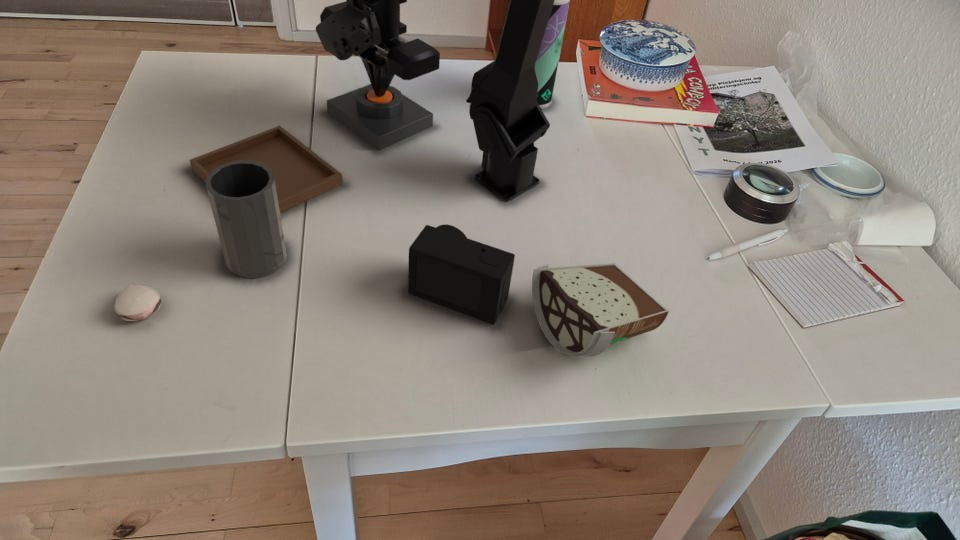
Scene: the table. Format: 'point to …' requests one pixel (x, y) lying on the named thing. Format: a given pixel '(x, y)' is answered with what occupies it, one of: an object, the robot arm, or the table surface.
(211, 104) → the table surface
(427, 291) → the digital camera
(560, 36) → the spray can
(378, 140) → the push button switch
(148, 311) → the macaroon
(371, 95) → the timer button
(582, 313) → the food container
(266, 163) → the tray
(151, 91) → the table surface
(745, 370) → the table surface
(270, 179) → the cup
